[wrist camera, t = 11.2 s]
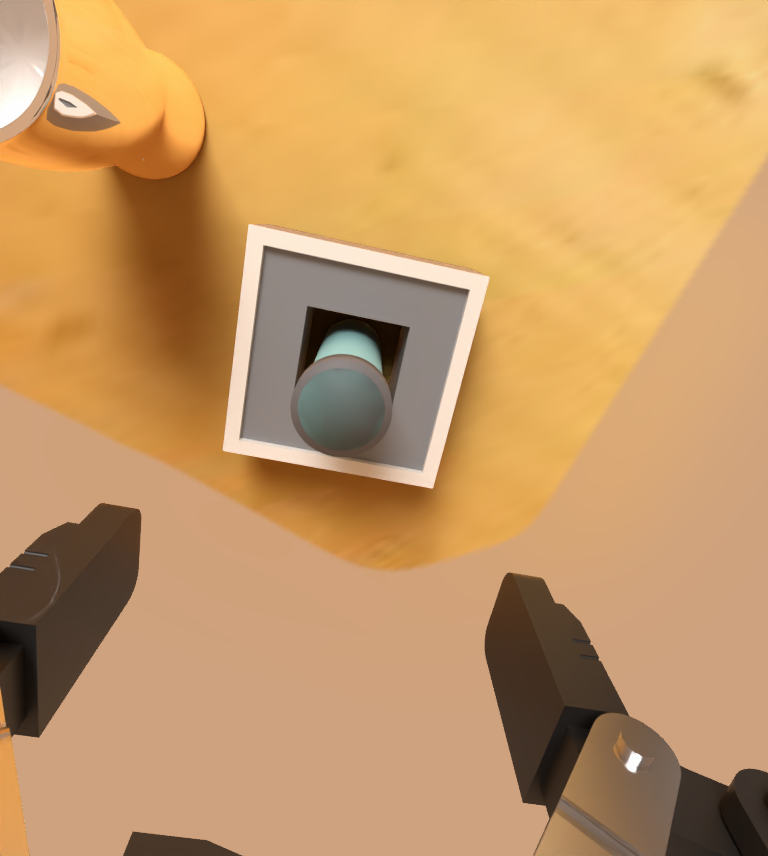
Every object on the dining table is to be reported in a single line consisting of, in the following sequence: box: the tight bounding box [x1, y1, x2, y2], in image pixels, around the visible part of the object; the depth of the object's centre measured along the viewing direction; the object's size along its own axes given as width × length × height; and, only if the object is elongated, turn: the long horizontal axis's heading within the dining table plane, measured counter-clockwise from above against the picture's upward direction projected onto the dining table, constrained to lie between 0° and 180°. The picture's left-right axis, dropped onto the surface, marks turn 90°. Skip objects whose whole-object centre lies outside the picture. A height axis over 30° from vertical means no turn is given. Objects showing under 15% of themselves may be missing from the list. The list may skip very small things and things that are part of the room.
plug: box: [290, 319, 392, 457], centre depth 28 cm, size 4×4×12 cm
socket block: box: [223, 224, 490, 489], centre depth 31 cm, size 12×12×5 cm
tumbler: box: [0, 0, 205, 179], centre depth 22 cm, size 7×7×15 cm
